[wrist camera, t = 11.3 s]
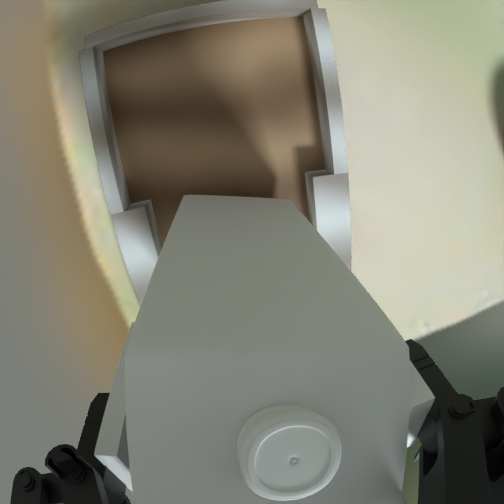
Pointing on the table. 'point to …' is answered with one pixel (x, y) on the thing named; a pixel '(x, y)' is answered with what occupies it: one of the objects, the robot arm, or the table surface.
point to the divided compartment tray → (216, 118)
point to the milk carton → (262, 367)
